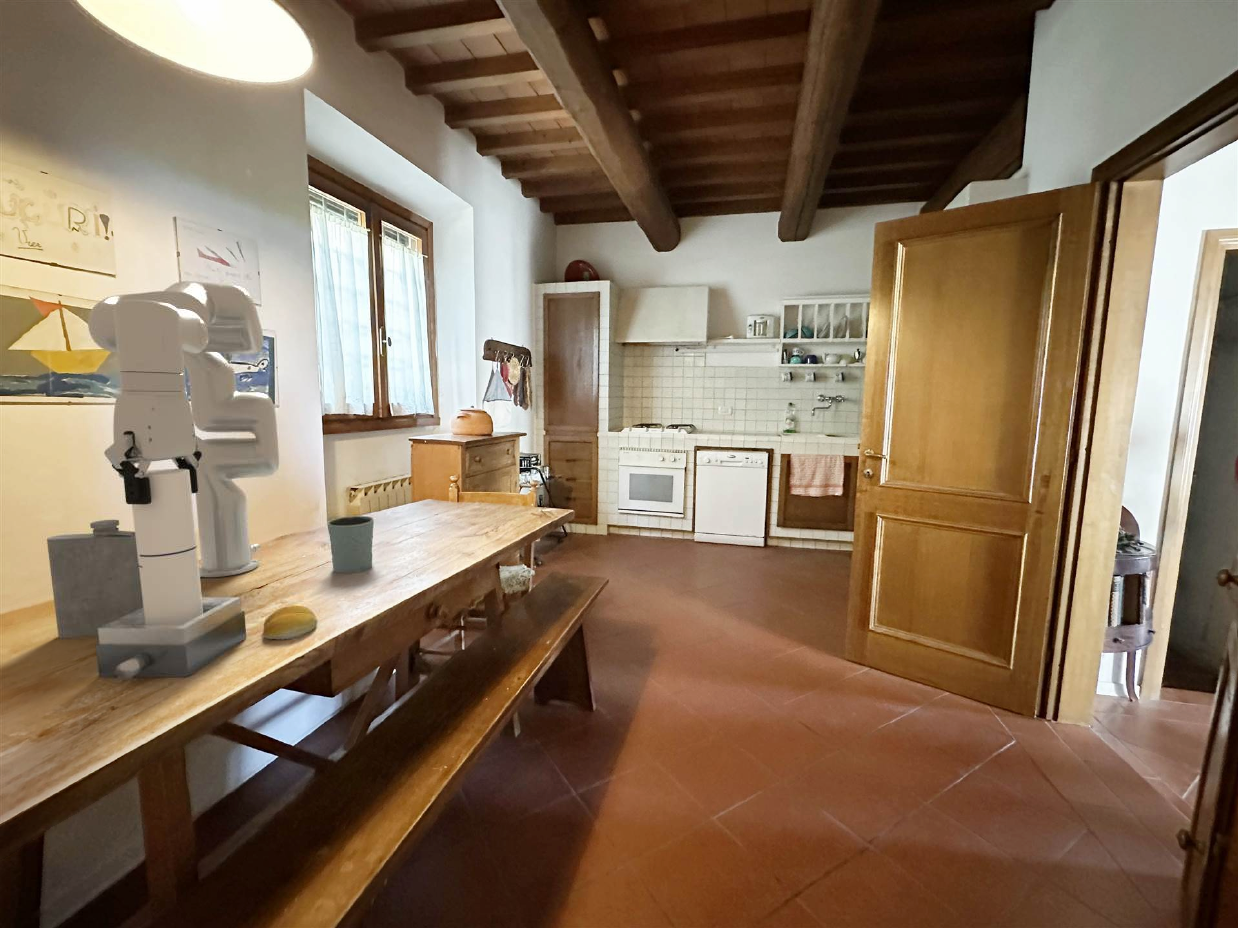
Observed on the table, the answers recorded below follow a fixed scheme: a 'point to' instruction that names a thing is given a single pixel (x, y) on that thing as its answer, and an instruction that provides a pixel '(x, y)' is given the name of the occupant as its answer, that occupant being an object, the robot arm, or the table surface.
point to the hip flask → (94, 578)
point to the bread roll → (289, 622)
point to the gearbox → (170, 642)
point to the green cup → (351, 543)
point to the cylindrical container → (168, 550)
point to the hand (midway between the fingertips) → (164, 497)
